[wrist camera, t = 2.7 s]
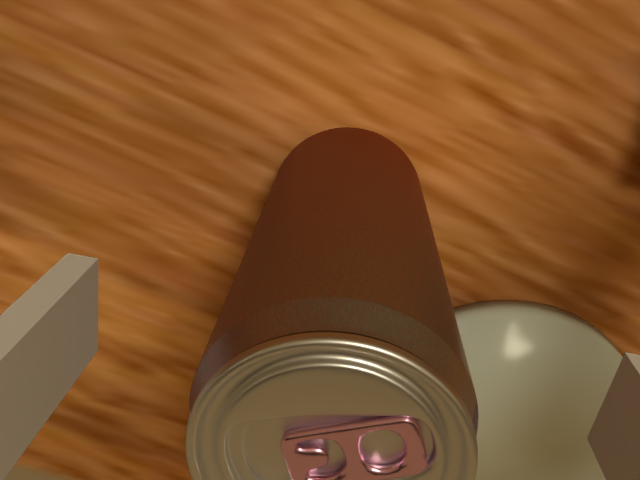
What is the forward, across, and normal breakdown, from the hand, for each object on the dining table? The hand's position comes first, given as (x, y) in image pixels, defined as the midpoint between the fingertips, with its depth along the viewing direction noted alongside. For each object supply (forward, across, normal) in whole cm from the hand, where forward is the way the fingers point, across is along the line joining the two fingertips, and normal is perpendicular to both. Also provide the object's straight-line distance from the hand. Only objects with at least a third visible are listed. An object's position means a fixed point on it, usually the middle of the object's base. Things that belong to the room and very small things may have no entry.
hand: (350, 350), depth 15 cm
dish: (+11, +8, -10) cm, 17 cm away
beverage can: (+11, 0, 0) cm, 11 cm away
